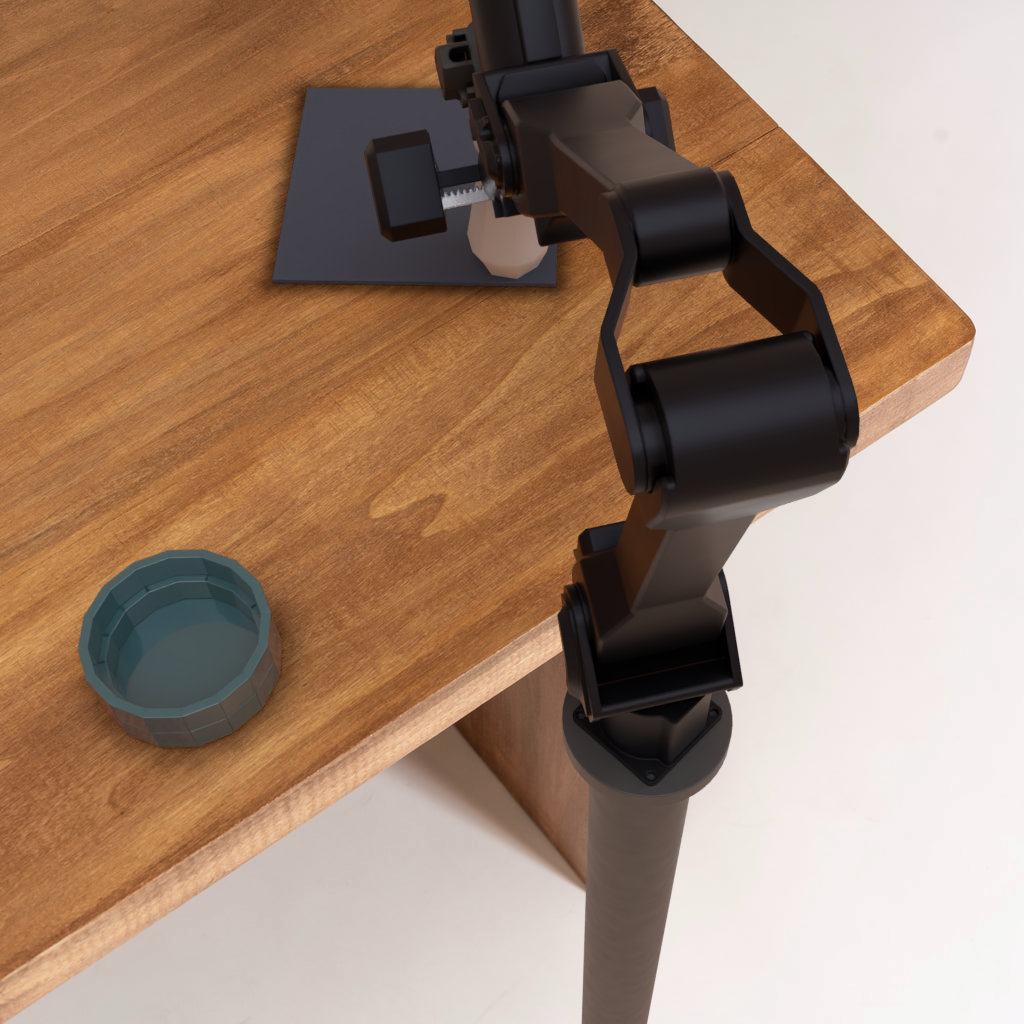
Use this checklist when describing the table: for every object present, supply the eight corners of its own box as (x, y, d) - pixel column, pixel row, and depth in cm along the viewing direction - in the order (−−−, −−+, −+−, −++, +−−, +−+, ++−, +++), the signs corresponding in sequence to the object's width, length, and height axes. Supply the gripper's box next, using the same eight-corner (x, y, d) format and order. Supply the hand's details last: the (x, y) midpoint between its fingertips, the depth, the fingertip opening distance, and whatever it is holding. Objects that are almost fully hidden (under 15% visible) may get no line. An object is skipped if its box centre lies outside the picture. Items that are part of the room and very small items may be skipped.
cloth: (563, 92, 111) (563, 88, 111) (555, 287, 100) (555, 283, 100) (307, 91, 112) (307, 87, 112) (272, 283, 102) (271, 279, 101)
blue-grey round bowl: (320, 663, 85) (308, 627, 81) (176, 787, 81) (157, 755, 77) (206, 556, 89) (190, 517, 86) (64, 668, 85) (41, 633, 82)
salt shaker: (540, 294, 100) (537, 153, 89) (460, 281, 100) (448, 140, 90) (559, 234, 103) (558, 90, 92) (482, 222, 104) (472, 78, 93)
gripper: (677, -19, 80) (618, 21, 95) (348, 40, 78) (341, 72, 94) (708, 182, 83) (646, 190, 98) (389, 244, 81) (376, 243, 96)
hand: (504, 170), depth 96 cm, fingers open, 9 cm apart
